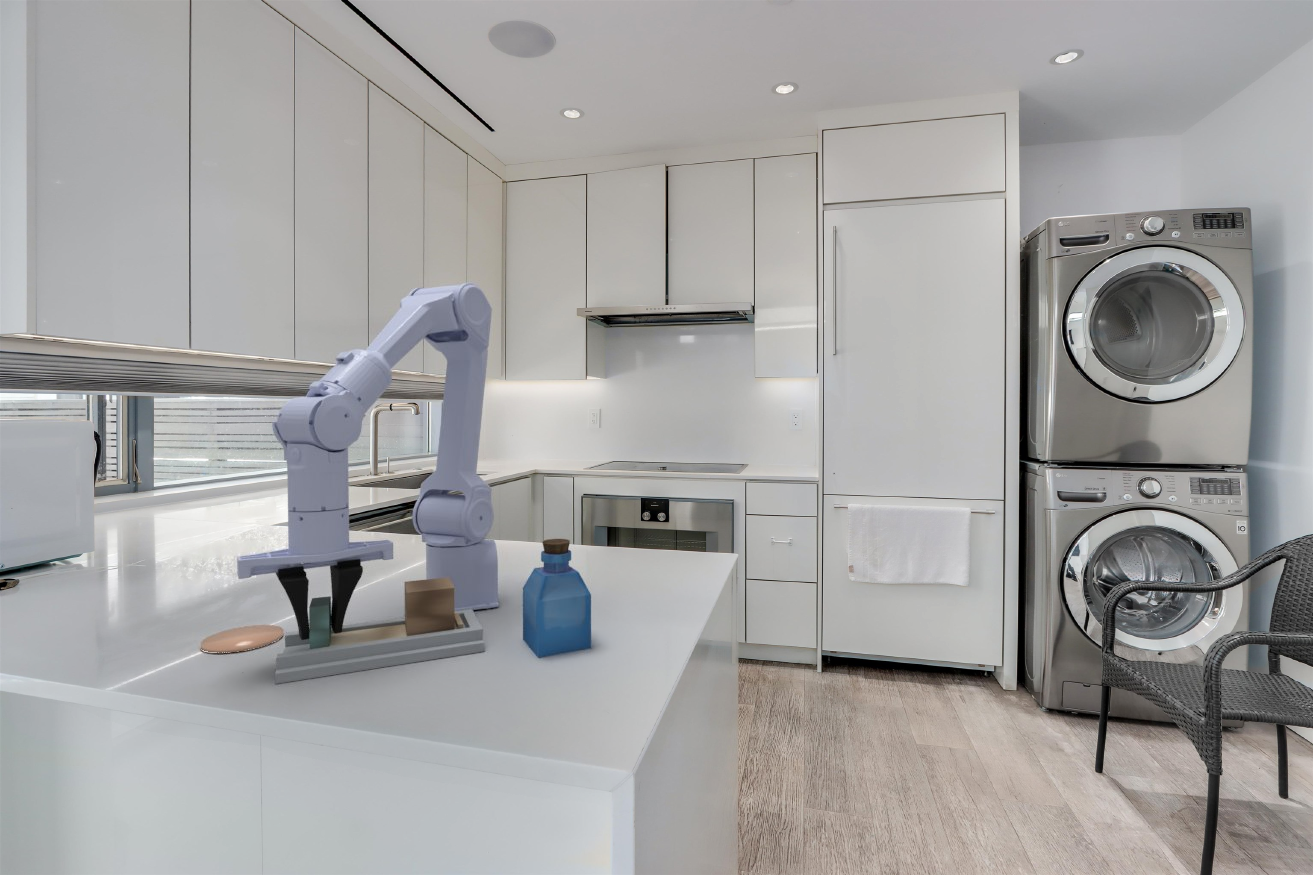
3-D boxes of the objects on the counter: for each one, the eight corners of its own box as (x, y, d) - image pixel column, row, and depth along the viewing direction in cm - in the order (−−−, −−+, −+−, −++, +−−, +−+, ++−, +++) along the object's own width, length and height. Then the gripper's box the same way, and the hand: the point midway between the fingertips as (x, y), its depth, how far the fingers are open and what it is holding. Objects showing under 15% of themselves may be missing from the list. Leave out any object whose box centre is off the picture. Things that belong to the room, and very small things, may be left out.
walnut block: (449, 618, 73) (449, 577, 73) (454, 631, 69) (454, 587, 69) (404, 623, 71) (404, 581, 71) (407, 637, 67) (406, 592, 67)
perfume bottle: (537, 658, 66) (537, 549, 66) (522, 639, 72) (522, 538, 71) (591, 648, 69) (591, 543, 69) (572, 631, 75) (572, 534, 74)
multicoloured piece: (458, 623, 74) (458, 581, 74) (463, 636, 69) (463, 591, 69) (313, 643, 67) (312, 596, 67) (309, 658, 63) (308, 609, 63)
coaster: (287, 625, 76) (287, 621, 76) (278, 646, 69) (278, 642, 69) (209, 634, 73) (209, 630, 73) (192, 658, 66) (192, 654, 66)
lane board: (471, 623, 77) (470, 606, 77) (484, 651, 68) (484, 631, 68) (287, 648, 68) (287, 629, 68) (275, 683, 59) (274, 661, 59)
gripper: (382, 499, 73) (383, 611, 73) (234, 509, 64) (236, 637, 64) (398, 505, 67) (399, 627, 67) (238, 518, 58) (241, 658, 59)
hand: (320, 633), depth 65 cm, fingers closed on multicoloured piece, 2 cm apart
